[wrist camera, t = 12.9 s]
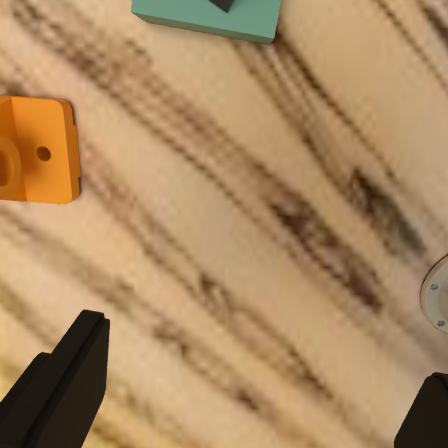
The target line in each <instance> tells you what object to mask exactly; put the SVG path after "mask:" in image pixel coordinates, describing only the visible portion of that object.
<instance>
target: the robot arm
mask: <svg viewBox="0 0 448 448" xmlns="http://www.w3.org/2000/svg"><path fill="white" fill-rule="evenodd" d="M421 305H422V309H423V311H424V313H425V315H426V317H427V318H428V319H429V321H430V322H431V323H432V324H433V325H434V326H435V327H436V328H437V329H439V330H441V331H442V332H444V333H447V334H448V256H447V257H445V258H444V259H442V260H441V261H440V262H439V263H438V264H437V265H436V266H435V267H434V268H433V269H432V270H431V272H430V273H429V274H428V276H427V277H426V279H425V281H424V283H423V287H422V290H421ZM109 330H110V320H109V319H105V318H104V313H102V312H96V311H90V310H85V309H84V310H82V312H81V313H80V314H79V316H78V317H77V318H76V320H75V321H74V322H73V324H72V325H71V327H70V328H69V329H68V331H67V332H66V334H65V335H64V336H63V338H62V339H61V341H60V342H59V343H58V345H57V346H56V347H55V349H54V350H53V352H52V353H51V354H50V353H45V352H41V353H40V354H38V355H37V356H36V357H35V358H34V359H33V361H32V362H31V363H30V365H29V366H28V367H27V369H26V370H25V371H24V372H23V374H22V375H21V376H20V378H19V379H18V380H17V382H16V383H15V384H14V385H13V387H12V388H11V389H10V391H9V392H8V393H7V395H6V396H5V397H4V398H3V400H2V401H1V402H0V448H81V447H82V445H83V443H84V441H85V438H86V436H87V434H88V432H89V429H90V427H91V425H92V423H93V421H94V418H95V416H96V414H97V412H98V409H99V407H100V405H101V403H102V400H103V397H104V394H105V390H106V377H107V361H108V346H109ZM394 448H448V374H444V373H438V372H435V373H433V374H432V375H431V376H428V377H427V378H426V379H425V381H424V383H423V385H422V386H421V388H420V390H419V392H418V394H417V396H416V398H415V400H414V402H413V404H412V406H411V408H410V410H409V412H408V414H407V416H406V418H405V420H404V421H403V423H402V425H401V427H400V429H399V431H398V433H397V435H396V437H395V440H394Z"/></svg>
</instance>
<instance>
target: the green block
mask: <svg viewBox="0 0 448 448" xmlns="http://www.w3.org/2000/svg"><path fill="white" fill-rule="evenodd" d="M280 6H281V0H234V2H233V4H232V6H231V7H230V9H229V11H228V13H226V12H225V11H223V10H222V9H220V8H219V7H218V6H216V5H215V4H213V3H212V2H210V1H209V0H132V9H131V12H132V13H133V14H135V15H136V16H138V17H139V18H141V19H142V20H144V21H146V22H148V23H154V24H159V25H165V26H170V27H176V28H181V29H186V30H192V31H197V32H203V33H208V34H214V35H219V36H224V37H230V38H235V39H241V40H246V41H252V42H257V43H263V44H268V45H270V43H271V42H272V41H273V39H274V36H275V31H276V26H277V21H278V16H279V11H280Z"/></svg>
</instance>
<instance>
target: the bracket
mask: <svg viewBox="0 0 448 448" xmlns="http://www.w3.org/2000/svg"><path fill="white" fill-rule="evenodd" d="M50 152H51V153H50ZM80 176H81V169H80V158H79V147H78V136H77V125H73V118H72V109H71V106H70V104H69V103H68V102H67V101H65V100H63V99H52V98H38V97H23V96H8V95H0V200H12V201H26V202H39V203H53V204H68V203H70V202H71V201H73V200H74V199H76V198H77V197H78V196H79V192H80V191H79V181H78V177H80Z"/></svg>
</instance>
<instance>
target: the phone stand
mask: <svg viewBox="0 0 448 448" xmlns="http://www.w3.org/2000/svg"><path fill="white" fill-rule="evenodd" d="M209 1H210V2H212V3H213V4H215V5H216V6H218V7H219V8H220V9H222V10H223V11H225V12H226V13H228V11H229V9H230V7H231V6H232V4H233V2H234V0H209Z"/></svg>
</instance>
